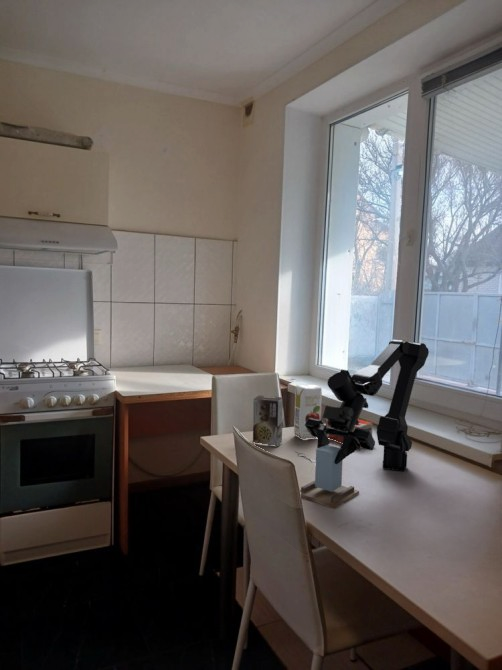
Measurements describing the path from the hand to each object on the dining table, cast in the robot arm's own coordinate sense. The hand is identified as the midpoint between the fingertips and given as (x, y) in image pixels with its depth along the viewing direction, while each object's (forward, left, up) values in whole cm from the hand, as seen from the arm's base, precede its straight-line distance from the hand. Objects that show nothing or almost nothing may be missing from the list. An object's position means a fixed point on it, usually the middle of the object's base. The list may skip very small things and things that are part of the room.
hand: (326, 460), depth 130 cm
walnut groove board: (+1, +1, -9) cm, 9 cm away
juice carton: (-13, +51, -10) cm, 54 cm away
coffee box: (-25, +39, -10) cm, 47 cm away
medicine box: (+2, +51, -10) cm, 52 cm away
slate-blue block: (+1, +1, -7) cm, 7 cm away
